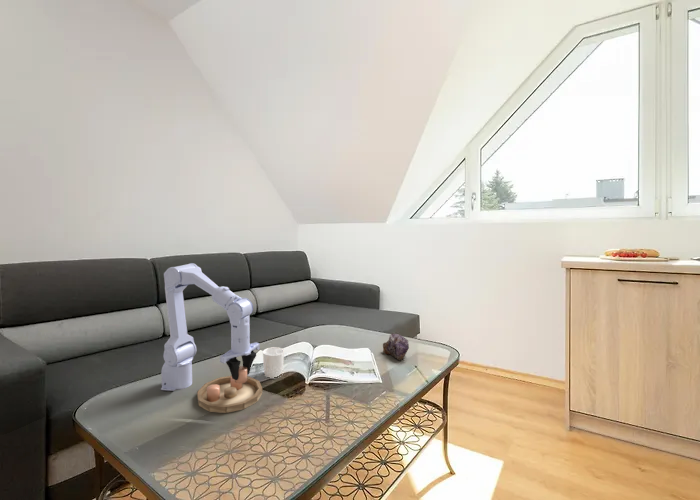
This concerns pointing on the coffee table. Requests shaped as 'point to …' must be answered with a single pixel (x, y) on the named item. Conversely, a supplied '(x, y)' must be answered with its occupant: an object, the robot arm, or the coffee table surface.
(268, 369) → the white cup
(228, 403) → the ring tray
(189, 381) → the robot arm
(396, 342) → the rock
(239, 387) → the bead
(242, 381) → the bead
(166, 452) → the coffee table surface
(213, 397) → the bead
